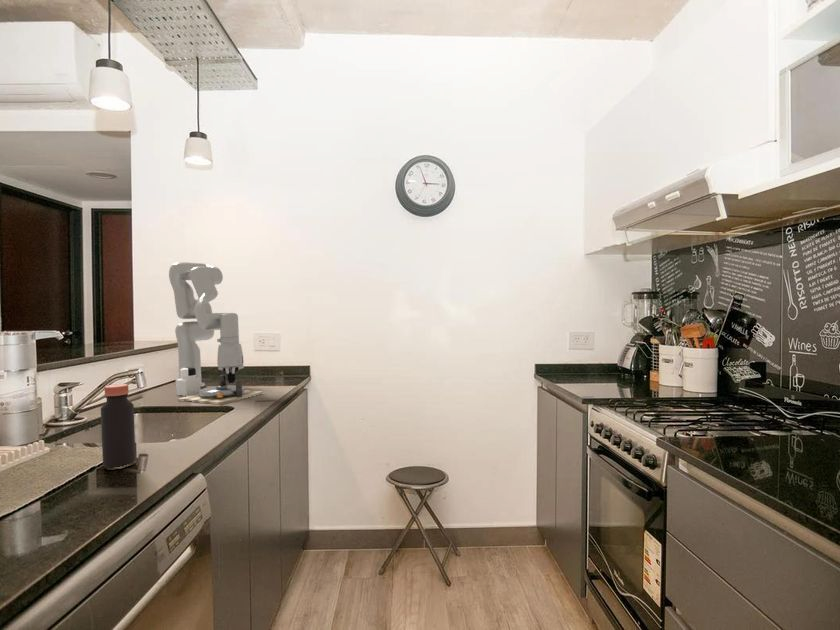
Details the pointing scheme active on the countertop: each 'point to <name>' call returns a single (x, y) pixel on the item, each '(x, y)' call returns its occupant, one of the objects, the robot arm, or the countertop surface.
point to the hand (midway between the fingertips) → (231, 382)
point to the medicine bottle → (188, 382)
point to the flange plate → (219, 389)
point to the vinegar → (117, 427)
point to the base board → (224, 399)
